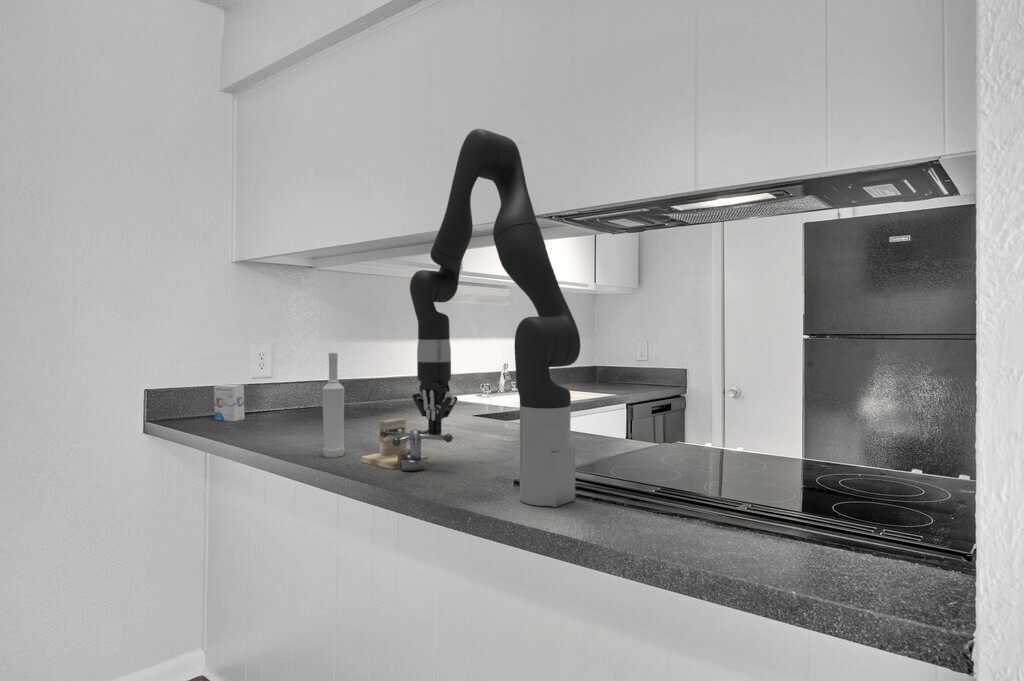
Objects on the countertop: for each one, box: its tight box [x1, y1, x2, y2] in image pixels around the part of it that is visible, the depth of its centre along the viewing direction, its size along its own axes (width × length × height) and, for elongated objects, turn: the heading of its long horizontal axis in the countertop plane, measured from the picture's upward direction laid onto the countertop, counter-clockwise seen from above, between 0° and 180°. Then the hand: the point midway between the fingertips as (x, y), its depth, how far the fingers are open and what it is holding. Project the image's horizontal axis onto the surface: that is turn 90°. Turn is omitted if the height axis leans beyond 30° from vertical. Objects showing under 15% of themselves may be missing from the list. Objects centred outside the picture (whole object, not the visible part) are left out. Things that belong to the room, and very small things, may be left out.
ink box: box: [213, 383, 245, 422], centre depth 212 cm, size 9×5×12 cm, turn 73°
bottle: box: [321, 352, 346, 458], centre depth 154 cm, size 5×5×25 cm
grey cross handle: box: [379, 429, 454, 472], centre depth 139 cm, size 18×18×8 cm
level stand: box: [360, 418, 429, 470], centre depth 146 cm, size 14×10×9 cm
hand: (434, 436), depth 143 cm, fingers closed
